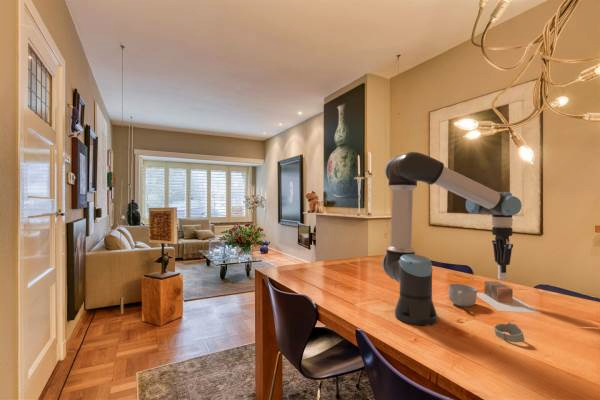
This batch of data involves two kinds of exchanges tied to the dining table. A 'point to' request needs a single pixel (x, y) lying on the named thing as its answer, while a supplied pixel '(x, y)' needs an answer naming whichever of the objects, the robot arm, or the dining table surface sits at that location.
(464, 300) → the teacup
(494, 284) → the walnut block
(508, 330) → the wristwatch
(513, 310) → the mat
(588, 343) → the dining table surface
